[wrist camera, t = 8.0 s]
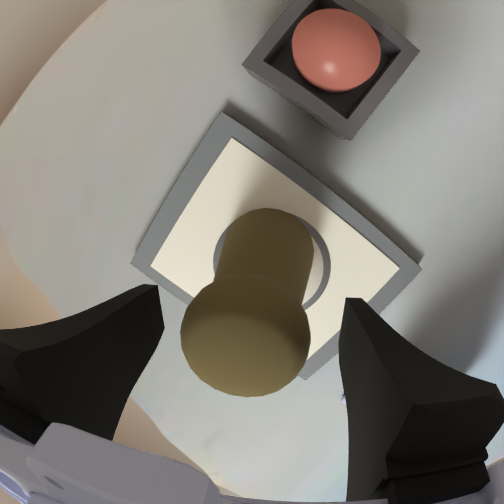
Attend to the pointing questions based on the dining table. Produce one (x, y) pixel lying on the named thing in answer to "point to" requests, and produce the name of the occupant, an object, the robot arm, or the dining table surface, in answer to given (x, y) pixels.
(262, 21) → the dining table surface
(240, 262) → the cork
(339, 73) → the button
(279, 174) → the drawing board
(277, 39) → the button base
